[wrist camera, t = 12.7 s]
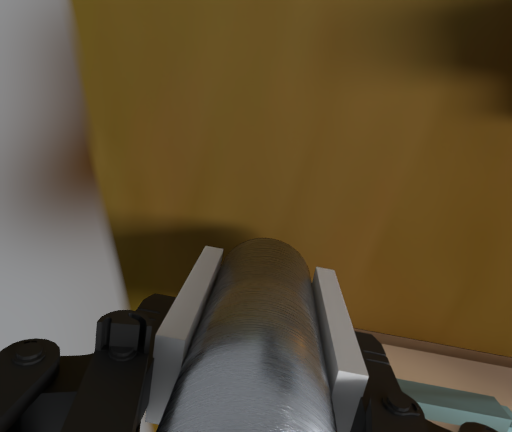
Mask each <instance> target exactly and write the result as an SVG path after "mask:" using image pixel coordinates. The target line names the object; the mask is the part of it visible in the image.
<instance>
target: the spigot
mask: <svg viewBox="0 0 512 432" xmlns="http://www.w3.org/2000/svg"><path fill="white" fill-rule="evenodd" d="M156 432H337V426H336V421H335V415H334V409H333V403H332V398H331V392H330V386H329V380H328V375H327V369H326V363H325V357H324V351H323V346H322V340H321V334H320V328H319V323H318V317H317V311H316V305H315V300H314V294H313V288H312V282H311V277H310V272H309V268H308V266H307V264H306V262H305V260H304V258H303V257H302V256H301V255H300V253H299V252H298V251H296V250H295V249H294V248H293V247H291V246H290V245H288V244H286V243H284V242H282V241H279V240H275V239H270V238H257V239H252V240H248V241H246V242H243V243H241V244H239V245H238V246H236V247H235V248H234V249H232V250H231V251H230V252H229V253H228V255H227V256H226V257H225V259H224V261H223V262H222V265H221V267H220V270H219V272H218V275H217V278H216V280H215V283H214V285H213V288H212V290H211V293H210V296H209V298H208V301H207V303H206V306H205V308H204V311H203V313H202V316H201V319H200V321H199V324H198V326H197V329H196V331H195V334H194V337H193V339H192V342H191V344H190V347H189V349H188V352H187V355H186V357H185V360H184V362H183V365H182V367H181V370H180V372H179V375H178V377H177V380H176V382H175V385H174V388H173V390H172V393H171V395H170V398H169V400H168V403H167V405H166V408H165V411H164V413H163V416H162V418H161V421H160V423H159V426H158V428H157V431H156Z"/></svg>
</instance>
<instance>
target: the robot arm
mask: <svg viewBox="0 0 512 432" xmlns="http://www.w3.org/2000/svg"><path fill="white" fill-rule="evenodd" d="M222 255H223V249H220V248H215V247H210V246H205V248H204V249H203V251H202V253H201V255H200V256H199V258H198V260H197V262H196V264H195V265H194V267H193V269H192V271H191V272H190V274H189V276H188V278H187V280H186V281H185V283H184V285H183V287H182V288H181V290H180V292H179V294H178V296H177V297H171V296H166V295H160V294H153V295H151V296H149V297H148V298H146V299H144V300H143V301H142V303H141V304H140V306H139V307H138V309H137V310H136V311H132V310H118V311H114V312H110V313H108V314H106V315H104V316H102V317H101V318H100V319H99V320H98V322H97V331H96V344H95V352H94V353H93V354H88V355H80V356H60V349H59V347H58V346H57V344H56V343H54V342H52V341H49V340H45V339H28V340H22V341H19V342H16V343H13V344H11V345H10V346H8V347H6V348H4V349H3V350H2V351H0V432H140V423H141V419H142V417H143V415H144V413H145V410H146V418H145V422H149V423H154V424H159V423H160V421H161V418H162V416H163V413H164V411H165V408H166V405H167V403H168V400H169V398H170V395H171V393H172V390H173V388H174V385H175V382H176V380H177V377H178V375H179V372H180V370H181V367H182V365H183V362H184V360H185V357H186V355H187V352H188V349H189V347H190V344H191V342H192V339H193V337H194V334H195V331H196V329H197V326H198V324H199V321H200V319H201V316H202V313H203V311H204V308H205V306H206V303H207V301H208V298H209V296H210V293H211V290H212V288H213V285H214V283H215V280H216V278H217V275H218V272H219V270H220V267H221V261H222ZM312 288H313V294H314V300H315V305H316V311H317V317H318V323H319V328H320V334H321V340H322V346H323V351H324V357H325V363H326V369H327V375H328V380H329V386H330V392H331V398H332V403H333V409H334V415H335V421H336V426H337V432H453V431H450V430H448V429H446V428H443V427H441V426H439V425H436V424H434V423H432V422H430V421H428V420H427V419H425V415H424V413H423V410H422V408H421V406H420V405H419V404H418V403H417V402H416V401H415V400H414V399H413V398H411V397H410V396H408V395H407V394H406V393H404V392H402V391H401V388H400V386H399V384H398V381H397V379H396V377H395V374H394V372H393V370H392V367H391V365H390V363H389V360H388V358H387V357H386V353H385V351H384V348H383V346H382V344H381V343H380V342H379V341H378V340H377V339H376V338H375V337H374V336H373V335H372V334H368V333H363V332H358V331H354V329H353V326H352V323H351V320H350V317H349V314H348V311H347V308H346V305H345V302H344V299H343V296H342V293H341V290H340V286H339V283H338V280H337V277H336V274H335V271H334V270H330V269H325V268H320V267H316V269H315V274H314V278H313V282H312ZM146 408H147V409H146ZM458 432H498V431H496V430H495V429H493V428H491V427H489V426H487V425H484V424H480V423H477V422H465V423H464V424H462V425H461V426H460V428H459V431H458Z"/></svg>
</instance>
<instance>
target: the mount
mask: <svg viewBox="0 0 512 432" xmlns="http://www.w3.org/2000/svg"><path fill="white" fill-rule="evenodd" d="M353 329H354V331H358V332H363V333H368V334H372V335H373V336H374V337H375V338H376V339H377V340H378V341H379V342H380V343H381V344H382V346H383V348H384V351H385V353H386V357H387V358H388V360H389V363H390V365H391V367H392V370H393V372H394V374H395V377H396V379H397V381H398V384H399V386H400V388H401V391H402V392H404V393H406V394H407V395H408V396H410V397H411V398H413V399H414V400H415V401H416V402H417V403H418V404H419V405H420V406H421V408H422V410H423V413H424V415H425V419H427V420H428V421H430V422H432V423H434V424H436V425H439V426H441V427H443V428H446V429H448V430H450V431H453V432H458V431H459V428H460V426H461V425H462V424H464V423H465V422H477V423H480V424H484V425H487V426H489V427H491V428H493V429H495V430H496V431H498V432H512V358H510V357H505V356H499V355H494V354H489V353H483V352H478V351H473V350H467V349H462V348H457V347H451V346H446V345H441V344H435V343H430V342H425V341H419V340H414V339H409V338H403V337H398V336H393V335H387V334H382V333H377V332H371V331H366V330H361V329H355V328H353Z"/></svg>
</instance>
